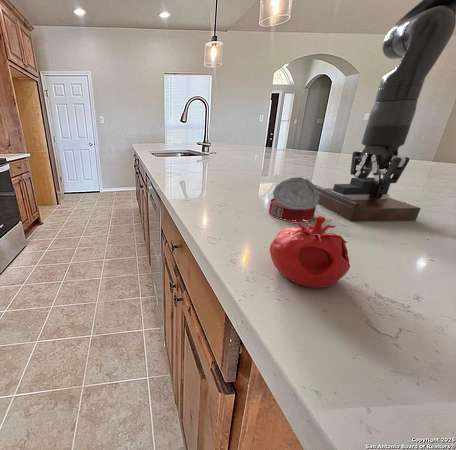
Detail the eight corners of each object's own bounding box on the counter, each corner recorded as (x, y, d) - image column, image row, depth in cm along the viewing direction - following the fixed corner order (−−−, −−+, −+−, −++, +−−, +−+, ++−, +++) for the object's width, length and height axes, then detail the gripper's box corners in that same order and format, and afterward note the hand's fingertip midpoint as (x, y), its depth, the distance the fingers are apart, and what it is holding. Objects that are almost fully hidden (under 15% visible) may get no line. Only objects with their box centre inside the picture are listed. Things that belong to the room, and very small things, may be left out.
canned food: (307, 230, 62) (338, 201, 55) (284, 236, 57) (316, 204, 50) (276, 201, 68) (301, 171, 61) (253, 204, 63) (277, 172, 56)
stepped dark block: (373, 194, 64) (378, 177, 62) (388, 199, 59) (394, 181, 58) (330, 194, 64) (334, 178, 62) (341, 200, 60) (346, 181, 58)
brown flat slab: (357, 197, 71) (361, 183, 69) (415, 220, 54) (423, 202, 53) (308, 198, 72) (311, 184, 70) (350, 221, 55) (356, 203, 53)
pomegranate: (254, 262, 40) (262, 209, 37) (305, 254, 42) (318, 203, 39) (299, 301, 31) (316, 236, 28) (362, 289, 33) (385, 226, 30)
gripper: (438, 123, 48) (406, 204, 55) (380, 123, 61) (360, 188, 68) (398, 124, 49) (372, 205, 55) (349, 124, 62) (332, 189, 68)
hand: (365, 195), depth 62 cm, fingers open, 5 cm apart
